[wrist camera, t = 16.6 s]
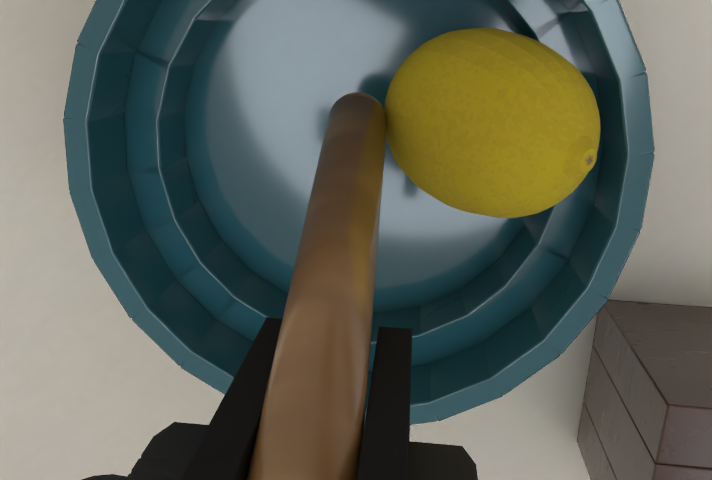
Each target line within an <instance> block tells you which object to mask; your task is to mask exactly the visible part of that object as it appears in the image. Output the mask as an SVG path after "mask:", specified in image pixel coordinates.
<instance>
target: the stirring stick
mask: <svg viewBox="0 0 712 480" xmlns="http://www.w3.org/2000/svg"><path fill="white" fill-rule="evenodd" d="M386 129H387V118H386V114H385V110H384V109H383V107H382V105H381V104H380V103H379V101H378V100H376V99H375V98H374V97H372V96H371V95H369V94H365V93H360V92H354V93H349V94H346V95H344V96H342V97H341V98H340V99H338V100H337V101H336V102H335V103H334V105H333V106H332V108H331V110H330V112H329V116H328V120H327V124H326V129H325V133H324V138H323V142H322V146H321V151H320V155H319V160H318V164H317V169H316V173H315V177H314V182H313V186H312V191H311V195H310V200H309V204H308V208H307V213H306V217H305V222H304V226H303V230H302V235H301V239H300V244H299V248H298V253H297V257H296V261H295V266H294V270H293V275H292V279H291V284H290V288H289V292H288V297H287V301H286V306H285V310H284V315H283V319H282V323H281V328H280V332H279V337H278V341H277V346H276V350H275V354H274V359H273V363H272V368H271V372H270V376H269V381H268V385H267V390H266V394H265V399H264V403H263V409H262V413H261V417H260V422H259V426H258V430H257V435H256V439H255V443H254V447H253V452H252V456H251V461H250V465H249V469H248V474H247V478H246V480H357V475H358V468H359V461H360V454H361V447H362V440H363V433H364V424H365V410H366V397H367V383H368V370H369V357H370V343H371V330H372V316H373V303H374V290H375V276H376V263H377V249H378V236H379V223H380V209H381V196H382V182H383V169H384V156H385V142H386Z"/></svg>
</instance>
